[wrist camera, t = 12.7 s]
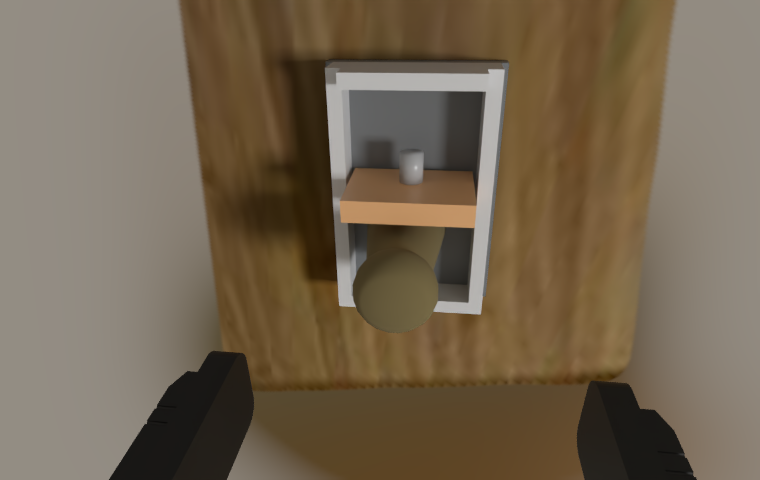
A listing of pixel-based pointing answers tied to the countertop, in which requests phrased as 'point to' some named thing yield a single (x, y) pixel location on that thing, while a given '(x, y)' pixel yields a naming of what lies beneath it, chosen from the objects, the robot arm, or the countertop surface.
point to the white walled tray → (424, 132)
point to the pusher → (410, 195)
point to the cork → (398, 276)
